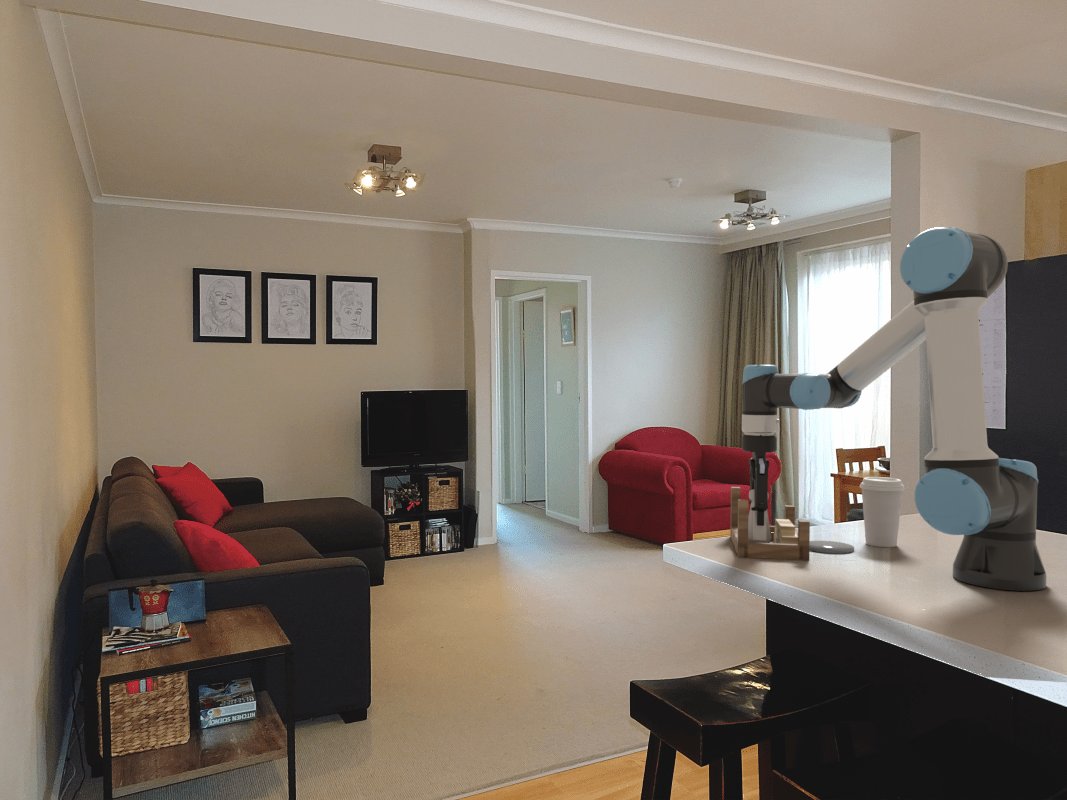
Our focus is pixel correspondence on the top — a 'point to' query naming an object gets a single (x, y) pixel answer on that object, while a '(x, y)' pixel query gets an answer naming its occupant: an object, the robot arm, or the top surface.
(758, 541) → the salt shaker
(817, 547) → the coaster
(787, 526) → the offcut stack
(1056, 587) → the top surface
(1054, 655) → the top surface
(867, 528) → the coffee cup
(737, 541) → the rack
